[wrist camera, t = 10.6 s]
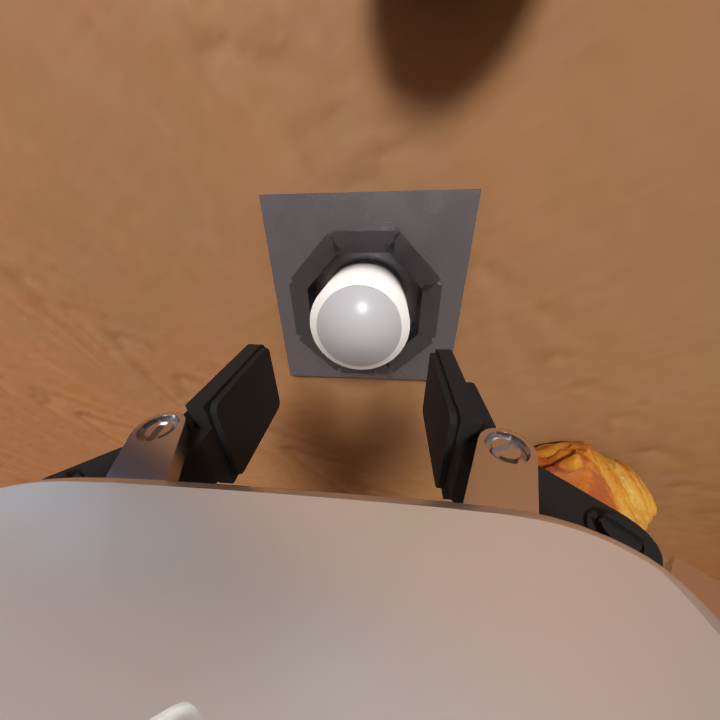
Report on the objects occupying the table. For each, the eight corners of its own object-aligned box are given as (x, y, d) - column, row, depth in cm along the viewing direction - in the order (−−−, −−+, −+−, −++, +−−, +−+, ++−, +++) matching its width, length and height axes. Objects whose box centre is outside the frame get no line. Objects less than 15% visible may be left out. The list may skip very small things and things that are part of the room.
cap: (402, 338, 21) (406, 374, 17) (329, 336, 22) (313, 371, 17) (408, 259, 18) (414, 277, 14) (323, 259, 19) (302, 277, 14)
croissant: (609, 490, 32) (684, 565, 25) (483, 528, 35) (519, 607, 28) (607, 403, 26) (706, 472, 19) (453, 458, 28) (490, 537, 21)
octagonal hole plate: (446, 375, 24) (453, 398, 21) (293, 370, 25) (280, 391, 22) (477, 190, 17) (495, 186, 14) (263, 195, 18) (240, 192, 15)
